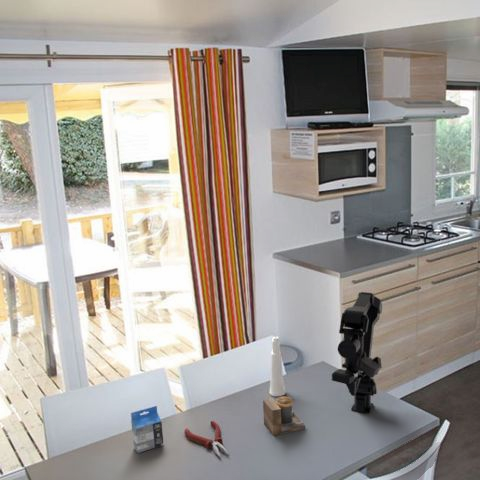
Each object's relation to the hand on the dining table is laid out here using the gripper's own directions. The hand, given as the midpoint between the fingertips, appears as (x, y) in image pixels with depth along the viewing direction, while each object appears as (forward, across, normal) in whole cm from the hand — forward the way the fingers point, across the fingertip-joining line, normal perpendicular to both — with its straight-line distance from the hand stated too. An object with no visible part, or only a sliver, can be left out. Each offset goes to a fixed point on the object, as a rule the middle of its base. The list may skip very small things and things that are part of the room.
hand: (353, 395), depth 187 cm
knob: (+11, -10, +20) cm, 25 cm away
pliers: (+15, -32, +35) cm, 50 cm away
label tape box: (+15, -44, +49) cm, 68 cm away
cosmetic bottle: (+11, +8, +35) cm, 38 cm away
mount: (+12, -11, +20) cm, 26 cm away
